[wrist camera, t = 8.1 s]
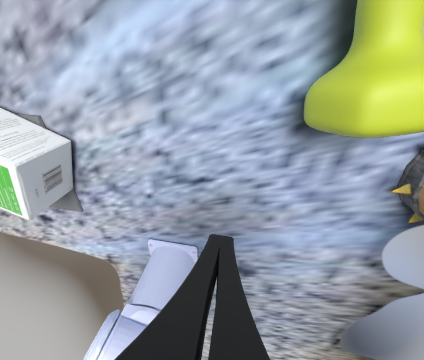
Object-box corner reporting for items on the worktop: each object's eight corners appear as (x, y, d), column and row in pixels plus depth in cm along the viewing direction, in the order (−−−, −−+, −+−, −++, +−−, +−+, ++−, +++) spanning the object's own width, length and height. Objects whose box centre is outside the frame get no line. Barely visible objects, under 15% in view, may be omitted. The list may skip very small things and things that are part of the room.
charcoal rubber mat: (83, 210, 28) (81, 211, 27) (-15, 195, 30) (-18, 196, 30) (40, 115, 20) (36, 116, 20) (-86, 105, 22) (-91, 105, 22)
